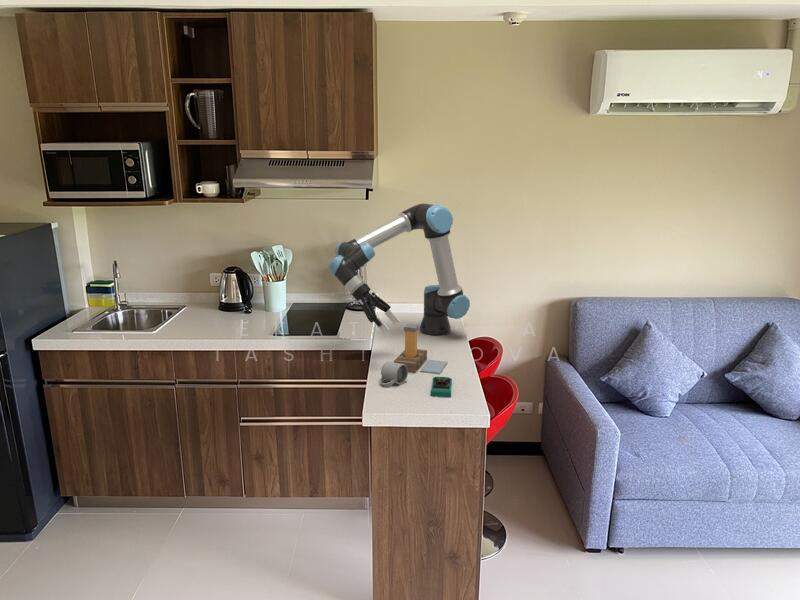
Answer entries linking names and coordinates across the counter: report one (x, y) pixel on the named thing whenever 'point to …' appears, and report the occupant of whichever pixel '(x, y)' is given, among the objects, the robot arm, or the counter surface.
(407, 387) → the counter surface
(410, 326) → the plug
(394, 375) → the ceramic mug
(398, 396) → the counter surface
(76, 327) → the counter surface
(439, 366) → the mat
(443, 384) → the digital multimeter
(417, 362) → the wooden socket block
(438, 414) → the counter surface
